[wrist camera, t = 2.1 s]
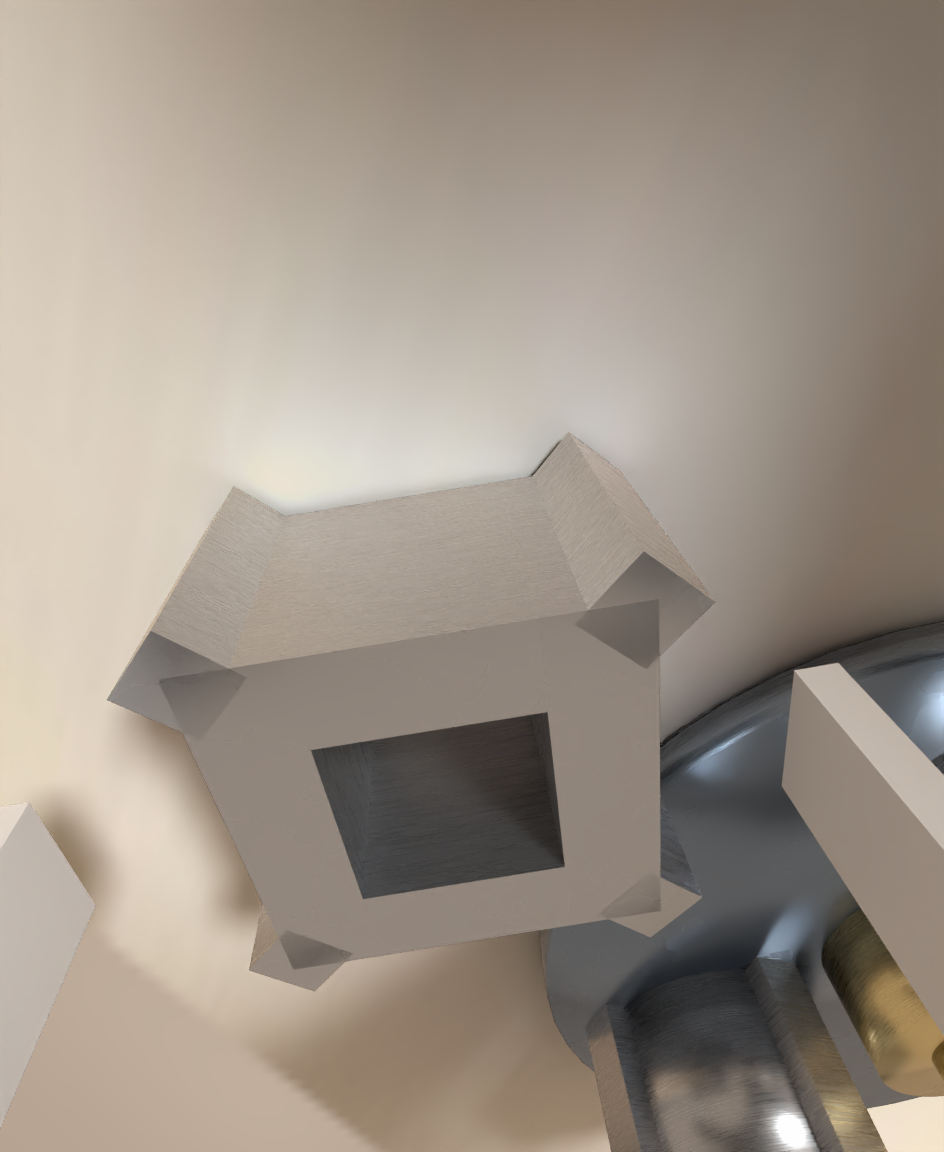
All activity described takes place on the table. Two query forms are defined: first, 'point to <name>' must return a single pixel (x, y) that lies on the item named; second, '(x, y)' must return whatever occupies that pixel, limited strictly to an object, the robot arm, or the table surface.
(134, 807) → the table surface
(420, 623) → the grey square frame
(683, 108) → the table surface
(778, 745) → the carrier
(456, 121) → the table surface
